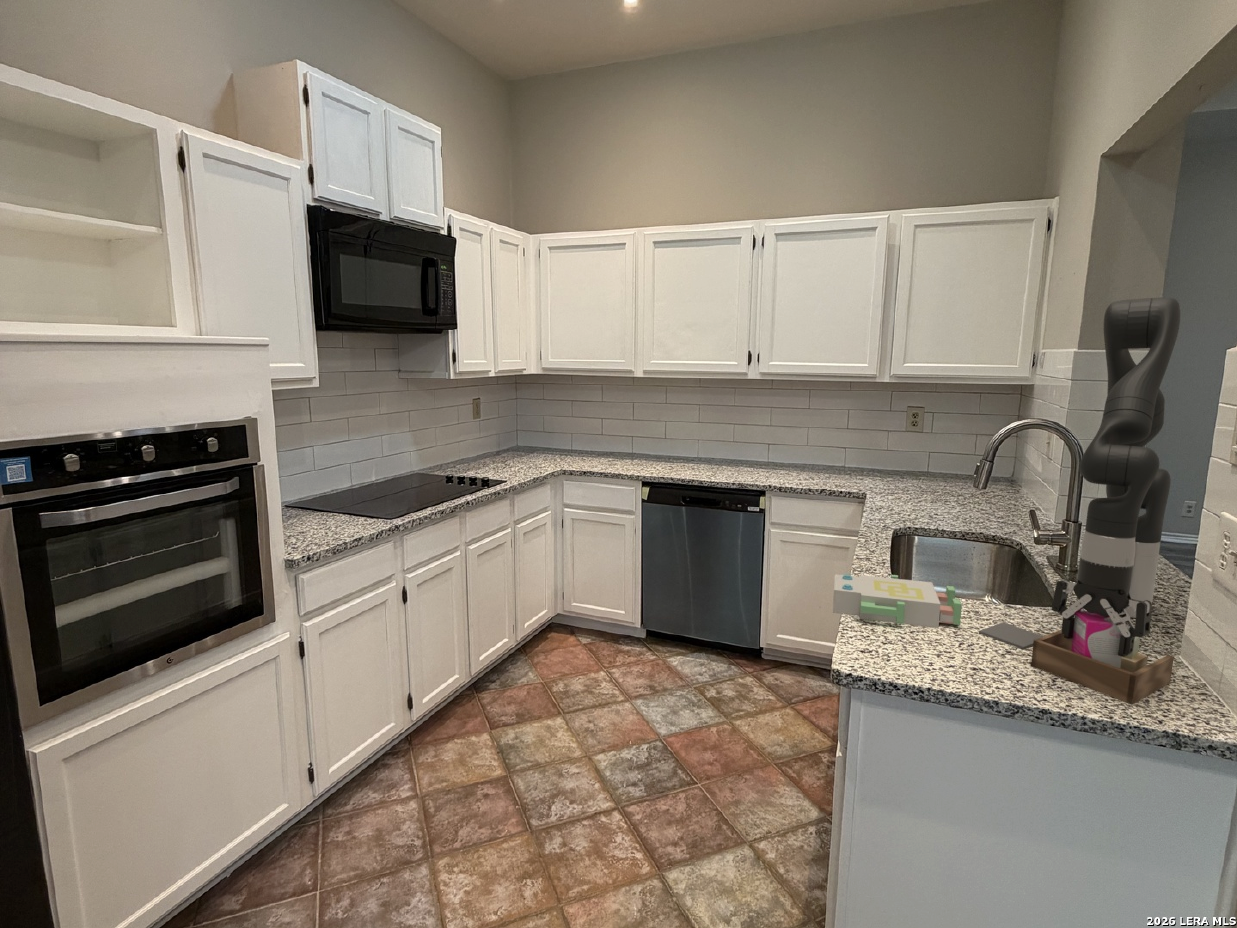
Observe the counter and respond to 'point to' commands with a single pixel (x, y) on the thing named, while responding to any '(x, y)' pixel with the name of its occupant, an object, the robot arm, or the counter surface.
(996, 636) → the mat
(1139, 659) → the offcut low
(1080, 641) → the supplement box
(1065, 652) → the rack
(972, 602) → the counter surface
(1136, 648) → the offcut top
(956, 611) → the decorative block
